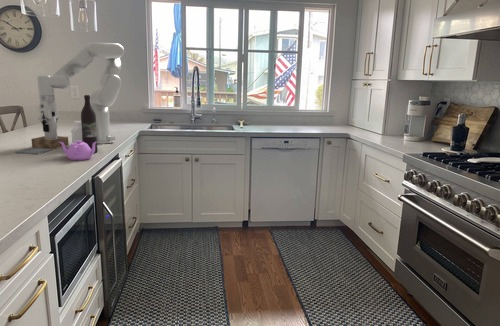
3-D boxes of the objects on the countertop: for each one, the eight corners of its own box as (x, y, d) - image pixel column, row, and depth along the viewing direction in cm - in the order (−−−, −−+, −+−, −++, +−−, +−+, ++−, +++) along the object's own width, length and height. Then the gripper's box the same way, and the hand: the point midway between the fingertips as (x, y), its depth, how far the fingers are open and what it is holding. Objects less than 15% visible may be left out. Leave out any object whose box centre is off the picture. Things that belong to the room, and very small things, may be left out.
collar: (68, 145, 211) (68, 136, 210) (54, 149, 198) (53, 140, 197) (47, 144, 212) (46, 135, 211) (32, 147, 199) (31, 138, 198)
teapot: (98, 158, 180) (98, 140, 178) (70, 162, 169) (69, 143, 167) (87, 154, 187) (86, 137, 185) (59, 158, 177) (58, 140, 175)
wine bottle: (81, 153, 189) (77, 95, 182) (85, 151, 195) (81, 94, 189) (95, 153, 190) (92, 95, 183) (99, 151, 196) (96, 95, 190)
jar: (70, 149, 198) (68, 122, 195) (75, 146, 208) (73, 120, 204) (93, 149, 201) (91, 122, 197) (96, 146, 210) (95, 120, 207)
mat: (52, 150, 196) (52, 148, 195) (37, 154, 184) (37, 153, 184) (31, 148, 197) (31, 147, 196) (15, 152, 185) (15, 151, 185)
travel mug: (43, 145, 205) (39, 109, 200) (55, 144, 210) (52, 109, 205) (47, 147, 201) (43, 110, 196) (60, 145, 205) (56, 110, 201)
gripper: (43, 99, 190) (46, 133, 195) (63, 97, 207) (65, 129, 211) (29, 98, 191) (33, 132, 195) (50, 97, 208) (53, 128, 212)
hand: (50, 130), depth 203 cm, fingers closed on travel mug, 6 cm apart
